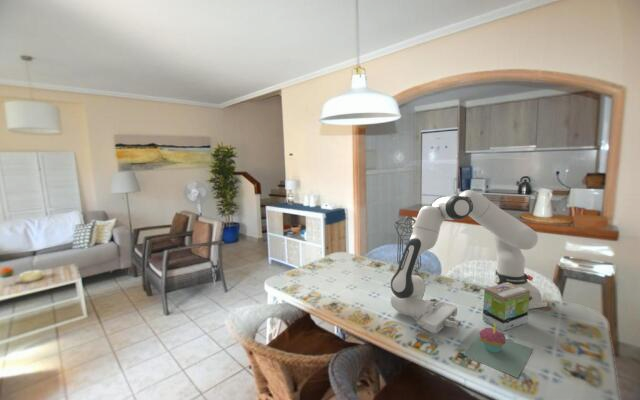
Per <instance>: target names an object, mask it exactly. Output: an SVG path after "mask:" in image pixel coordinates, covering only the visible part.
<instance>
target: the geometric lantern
mask: <svg viewBox="0 0 640 400" xmlns="http://www.w3.org/2000/svg"><path fill="white" fill-rule="evenodd" d="M411 221H412V222H411ZM415 221H416V219H415V218H413V217H412V216H410V215H406V216H404V217H403V218H401V219H399V220H397V221H396V222H394V223H393V225H394V228H395V230H396V234H397V251H398V252H397V255H396V257H397V258H396V261H397V262H396V263H397V265H398V267H399V265H400V262H401V258H402V257H401V256H403V253H404V241H409V240H410V238H409V239H404V237H405V236H406V237H407V236H410V237H411V235H412V232H413V229H414V227H413V226H414V225H415ZM408 225H409V226H408ZM399 229H400V230H402V232H401V234H400V232H399ZM405 229H406V230H405ZM404 233H405V234H404ZM401 251H402V254H401ZM421 255H422V254H421ZM421 255H420V256H419V258H418V259H417V262H416V265H417V267H416V266H415V268H414V271H415V273H414V271H413V274H412V275H418V274H419V273H418V271H419V270H420V269H421V268H422V267H423V266H422V259H421V257H422V256H421Z"/></svg>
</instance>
